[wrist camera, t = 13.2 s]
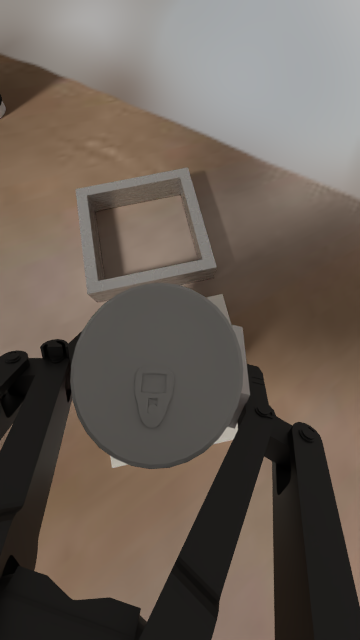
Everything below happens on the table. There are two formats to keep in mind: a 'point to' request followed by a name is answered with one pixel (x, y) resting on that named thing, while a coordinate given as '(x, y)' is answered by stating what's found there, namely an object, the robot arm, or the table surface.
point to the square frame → (131, 194)
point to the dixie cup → (2, 107)
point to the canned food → (156, 375)
